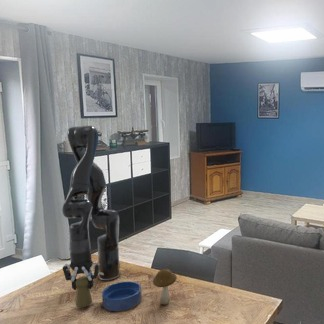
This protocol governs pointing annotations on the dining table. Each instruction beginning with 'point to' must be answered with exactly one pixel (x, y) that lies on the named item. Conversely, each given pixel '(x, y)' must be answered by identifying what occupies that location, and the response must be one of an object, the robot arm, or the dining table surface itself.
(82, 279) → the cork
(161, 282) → the mushroom
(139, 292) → the bowl
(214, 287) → the dining table surface
